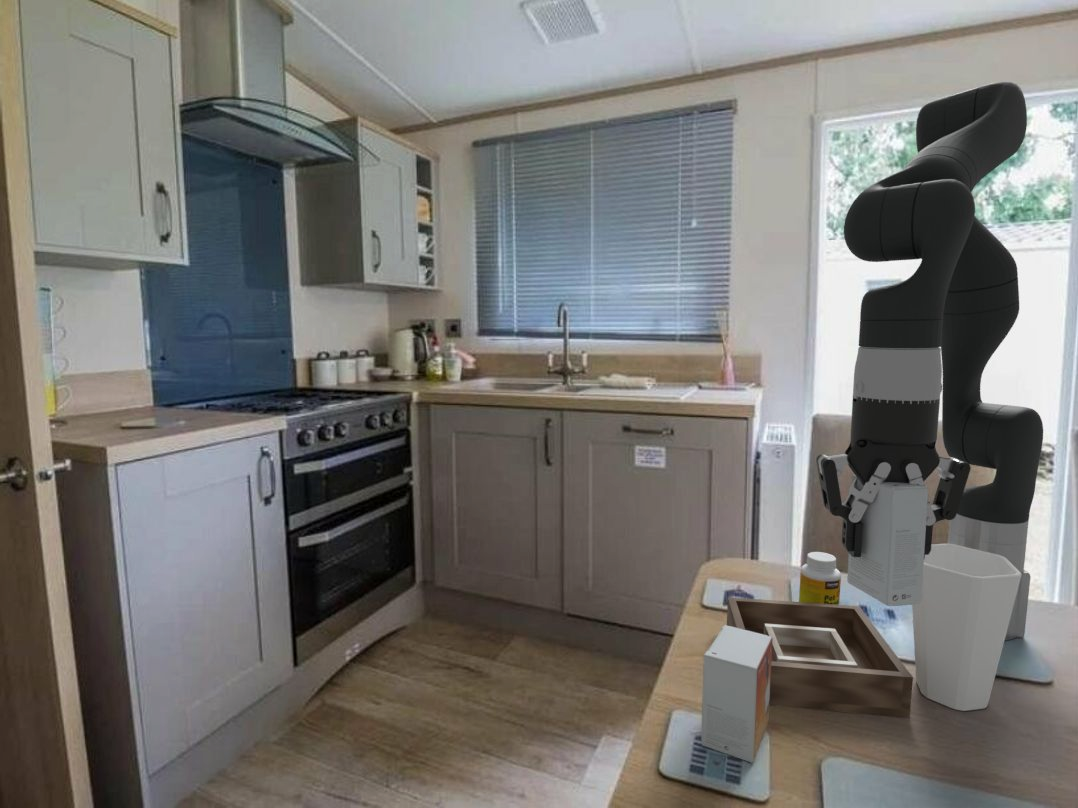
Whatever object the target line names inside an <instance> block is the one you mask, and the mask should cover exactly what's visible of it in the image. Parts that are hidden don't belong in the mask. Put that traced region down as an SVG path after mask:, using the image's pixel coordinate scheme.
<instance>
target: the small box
mask: <svg viewBox="0 0 1078 808" xmlns="http://www.w3.org/2000/svg"><path fill="white" fill-rule="evenodd" d="M772 640H773V638H772V637H771V636H767V635H763V634H759V633H755V632H751V631H747V630H743V629H740V628H736V627H732V626H727V624H724V625H722V628H721V629H720V631H719V632H718V634H717V636H716V637H715V639H714V641H713V642H712V643H711V645H710V646H709V648H708V649H707V650H706V651H705V652H704V654H703V663H702V664H703V666H702V667H703V668H702V669H703V671H702V699H701V701H702V703H701V704H702V705H701V738H700V739H701V741H700V742H701V743H700V744H701V746H703V747H705V748H707V749H712V750H714V751H717V752H720V753H722V754H726V755H729V756H731V757H734V758H737V759H740V760H743V761H746V762H749V763H751V764H752V763H755V759H756V756H757V753H758V750H759V747H760V745H761V743H762V740H763V737H764V736H765V732H766V730H767V728H768V725H769V717H770V716H769V715H770V705H769V699H770V677H771V660H772Z"/></svg>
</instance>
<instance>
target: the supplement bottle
mask: <svg viewBox="0 0 1078 808" xmlns="http://www.w3.org/2000/svg"><path fill="white" fill-rule="evenodd" d="M806 556H807V557H806V563H805V564H803V565H802V566H801V567H800V572H799V573H800V576H799V577H800V578H799V590H798V591H799V592H798V593H799V594H798V595H799V596H798V602H806V603H821V604H836V605H840V596H841V594H840V593H841V585H842V584H841V581H842V574H841V572H840V570H839V569H838V568H837V558H836V557H835V555H833V554H830V553H828V552H822V551H811V552H809V553H807V555H806Z"/></svg>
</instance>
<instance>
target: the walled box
mask: <svg viewBox="0 0 1078 808" xmlns="http://www.w3.org/2000/svg"><path fill="white" fill-rule="evenodd" d="M726 606H727V609H726V610H727V611H726V613H727V615H726V625H727V626H732V627H736V628H740V629H743V630H747V631H751V632H755V633H759V634H763V635H767V636H771V637H772V638H773V640H772V660H771V677H770V699H769V706H775V707H788V708H797V709H806V710H807V709H808V710H818V711H827V712H828V711H829V712H832V711H833V712H840V713H841V712H842V713H848V714H849V713H850V714H851V713H852V714H861V715H872V716H882V717H891V718H893V717H895V718H903V719H910V718H911V709H912V708H911V707H912V705H911V704H912V694H913V682H914V681H913V680H914V677H913V675H912V674H911V673H910V672H909V669H908V668H907V667H906V666H905V665H904V663H903V662H902V661H901V660H900V658H899V657H898V656H897V654H896V653H895V651H894V650H893V649H892V648H891V646H890V645H889V644H888V642H887V641H886V640H885V638H884V637H883V636H882V634H881V633H880V632H879V630H878V629H877V628H876V626H875V624H873V622H872V621H871V620H870V618H869V617H868V616H867V614H866V613H865V611H863V608H861V606H860V605H850V604H849V605H847V604H839V605H836V604H821V603H806V602H799V601H790V600H774V599H773V600H772V599H759V598H745V597H744V598H743V597H731V596H728V597H727V605H726Z"/></svg>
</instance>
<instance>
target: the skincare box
mask: <svg viewBox="0 0 1078 808" xmlns="http://www.w3.org/2000/svg"><path fill="white" fill-rule="evenodd" d="M856 477H857V476H856V475H855V474H853V475H851V482H850V483H851V485H852V483H853V481H854V480H855V479H856ZM851 485H850V486H851ZM857 486H858V488H859V489H860V490H862V489H863V487H864V486H863V485H862V483H861V482H860V481H859V479H857ZM869 492H870V491H869ZM928 495H929V486H926V485H925V486H919V485H910V484H908V483H898V482H883V483H882V484H881V485H880V486H879V491H878V492H877V494H876V496H875V498H874V500H873V502H872V503H871V504H869V505H868V507H867V508H866V510H865V512H864V514H863V516H862V518H861V520H860V521H861V522H862V523H863V534H862V550H861V557H852V556H851V555H850V554H849V553H848V556H847V557H848V560H847V583H848V584H849V585H851V586H853V587H855V588H856V589H858V590H860V591H862V592H863V593H865V594H867V595H868V596H870V597H872V598H873V599H875V600H877V601H878V602H880V603H882V604H884V606H888V607H899V606H901V607H902V606H910V605H911V606H912V604H919V603H920V602H921V598H922V582H923V565H924V549H925V533H926V517H927V499H928Z"/></svg>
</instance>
